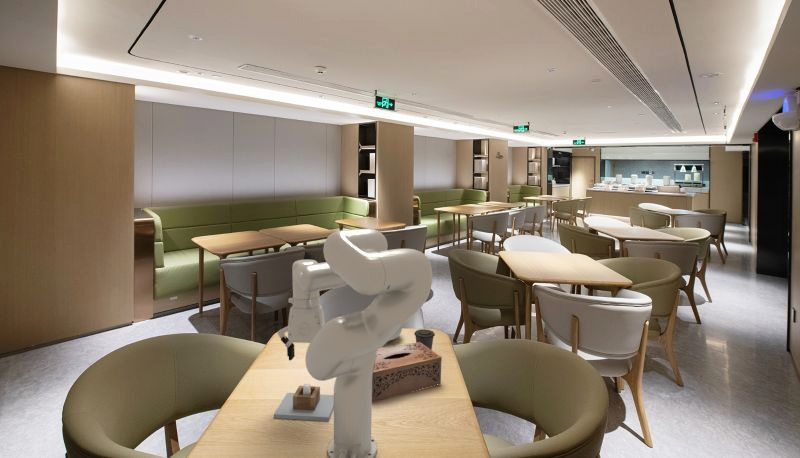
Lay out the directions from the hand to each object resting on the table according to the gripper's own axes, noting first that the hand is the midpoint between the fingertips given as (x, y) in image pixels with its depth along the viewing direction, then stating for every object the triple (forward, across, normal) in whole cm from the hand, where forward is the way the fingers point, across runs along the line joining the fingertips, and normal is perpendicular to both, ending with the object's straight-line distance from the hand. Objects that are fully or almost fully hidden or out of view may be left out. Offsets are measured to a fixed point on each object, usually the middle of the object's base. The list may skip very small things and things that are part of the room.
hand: (307, 359), depth 122 cm
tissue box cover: (+16, +25, +19) cm, 35 cm away
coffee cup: (+16, +34, +42) cm, 56 cm away
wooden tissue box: (+14, -1, +1) cm, 15 cm away
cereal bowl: (+15, +16, +56) cm, 61 cm away
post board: (+16, -1, +1) cm, 16 cm away
